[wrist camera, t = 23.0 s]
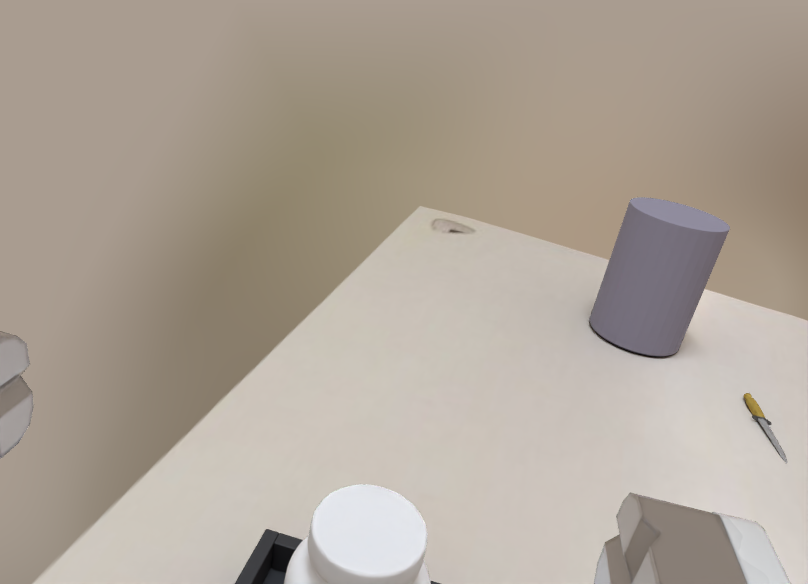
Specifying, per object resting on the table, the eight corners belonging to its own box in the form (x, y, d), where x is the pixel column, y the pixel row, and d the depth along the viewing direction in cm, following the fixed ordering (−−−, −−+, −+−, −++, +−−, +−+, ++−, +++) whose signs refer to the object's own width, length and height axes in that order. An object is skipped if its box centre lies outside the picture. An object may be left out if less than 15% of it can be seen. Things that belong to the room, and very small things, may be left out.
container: (676, 330, 76) (724, 215, 70) (679, 369, 67) (735, 240, 61) (592, 305, 79) (631, 191, 72) (584, 338, 70) (628, 212, 64)
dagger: (804, 469, 54) (784, 460, 54) (797, 476, 55) (777, 467, 54) (758, 395, 64) (740, 388, 63) (752, 401, 64) (735, 394, 64)
